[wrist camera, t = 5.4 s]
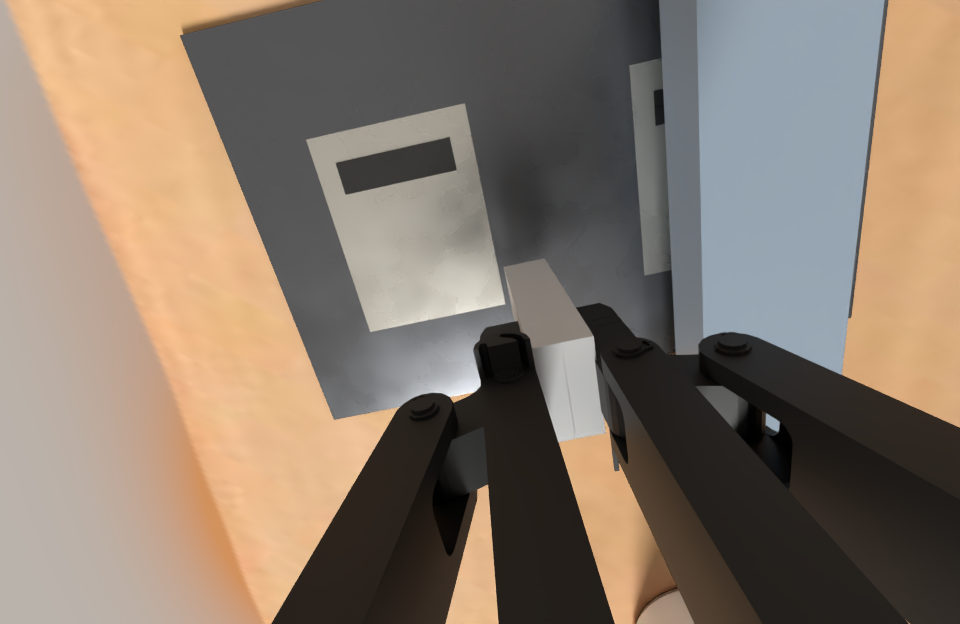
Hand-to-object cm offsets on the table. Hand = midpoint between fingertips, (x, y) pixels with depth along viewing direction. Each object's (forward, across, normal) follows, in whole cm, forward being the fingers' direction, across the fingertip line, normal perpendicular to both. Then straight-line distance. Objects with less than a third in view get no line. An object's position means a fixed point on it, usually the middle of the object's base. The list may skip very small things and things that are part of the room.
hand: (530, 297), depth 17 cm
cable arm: (+1, -8, +1) cm, 8 cm away
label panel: (+3, -2, -3) cm, 4 cm away
